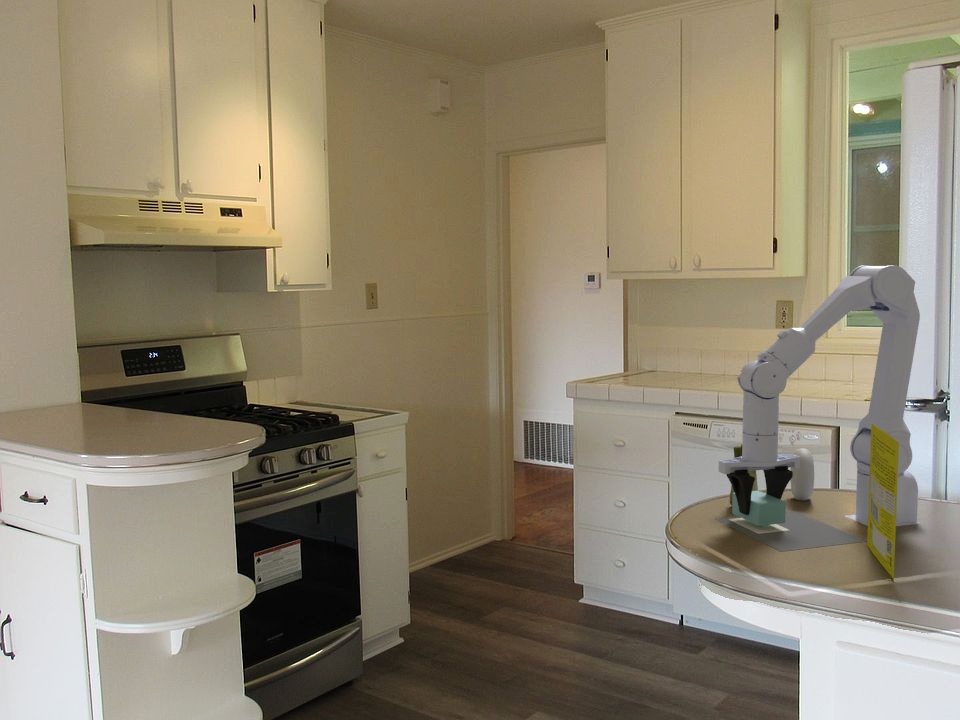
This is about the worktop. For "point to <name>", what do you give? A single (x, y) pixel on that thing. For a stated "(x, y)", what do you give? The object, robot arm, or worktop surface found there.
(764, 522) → the card box
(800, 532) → the mat
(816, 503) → the worktop surface
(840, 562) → the worktop surface
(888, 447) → the food package
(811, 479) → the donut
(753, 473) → the fennel bulb
